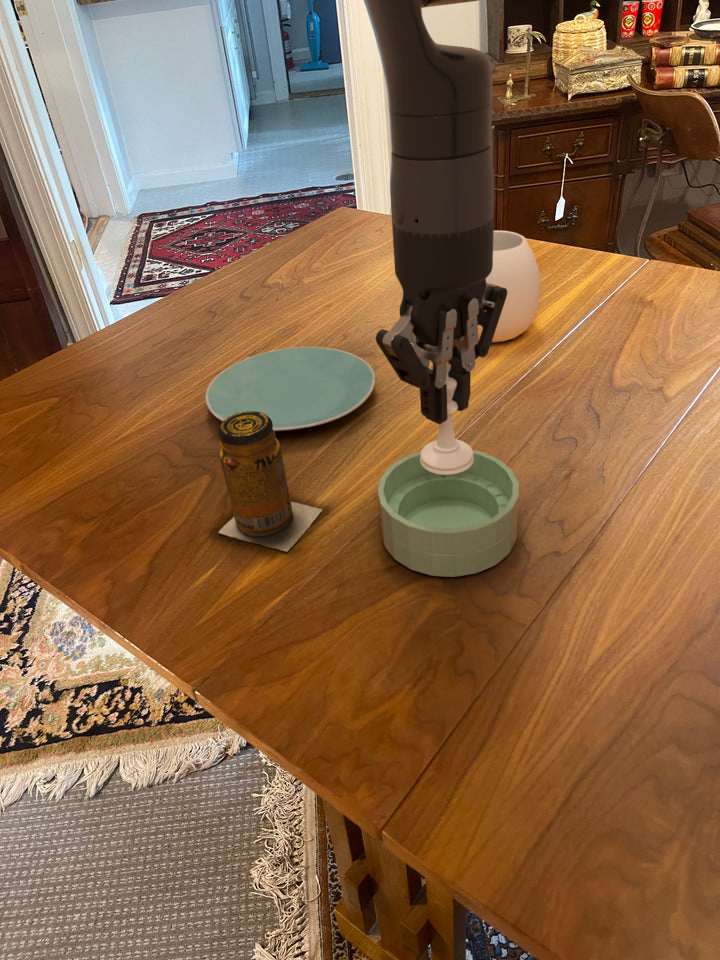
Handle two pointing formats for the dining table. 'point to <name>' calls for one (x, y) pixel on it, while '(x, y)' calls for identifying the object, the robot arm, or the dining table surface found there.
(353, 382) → the plate
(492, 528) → the bowl
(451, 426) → the chess piece
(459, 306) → the robot arm
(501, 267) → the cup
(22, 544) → the dining table surface
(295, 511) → the condiment
